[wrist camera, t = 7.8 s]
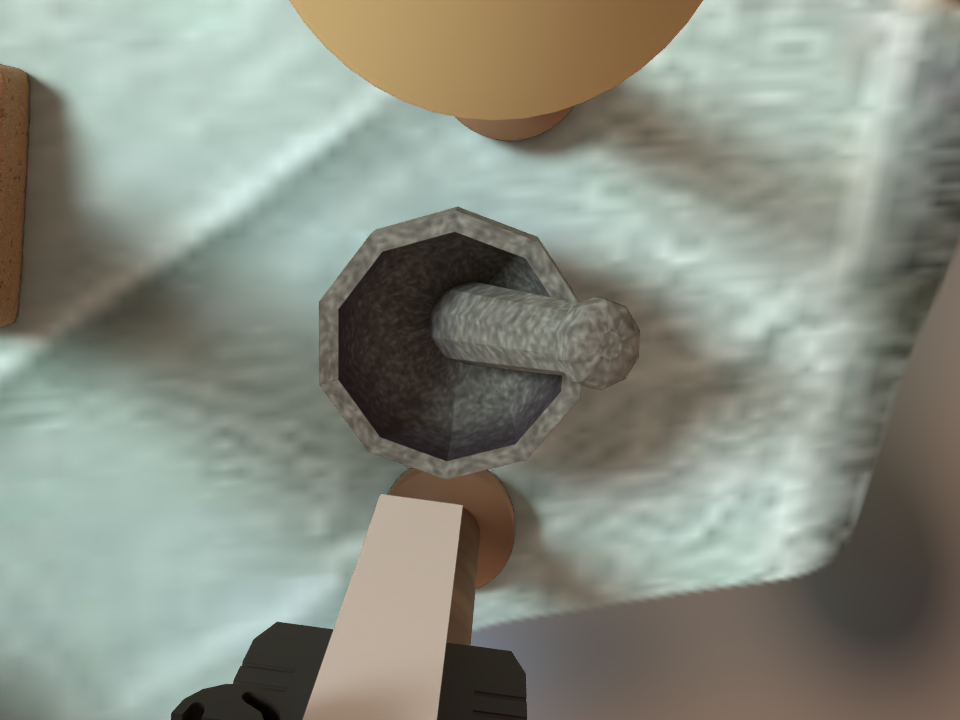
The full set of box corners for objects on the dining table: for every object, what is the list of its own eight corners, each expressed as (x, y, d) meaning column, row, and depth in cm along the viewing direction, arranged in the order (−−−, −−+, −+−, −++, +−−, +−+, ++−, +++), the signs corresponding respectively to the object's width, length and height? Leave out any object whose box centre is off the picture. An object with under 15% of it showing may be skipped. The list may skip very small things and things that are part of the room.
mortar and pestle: (384, 437, 40) (331, 567, 29) (319, 235, 38) (232, 287, 26) (631, 374, 39) (680, 484, 27) (579, 161, 37) (607, 183, 25)
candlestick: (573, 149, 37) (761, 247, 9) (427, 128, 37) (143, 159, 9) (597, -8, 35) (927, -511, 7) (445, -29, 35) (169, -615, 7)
